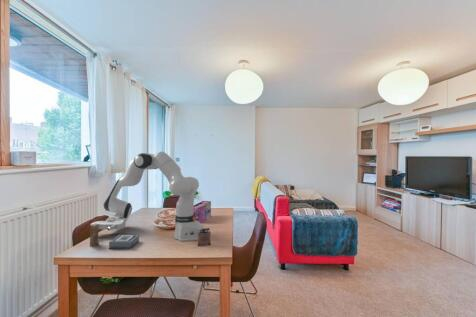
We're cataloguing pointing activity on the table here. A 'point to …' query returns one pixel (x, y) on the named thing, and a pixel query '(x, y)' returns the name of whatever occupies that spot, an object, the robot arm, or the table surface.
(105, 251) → the table surface
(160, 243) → the table surface
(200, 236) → the lighter
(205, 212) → the gum box
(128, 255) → the table surface
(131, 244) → the grey flat square block
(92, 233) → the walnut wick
